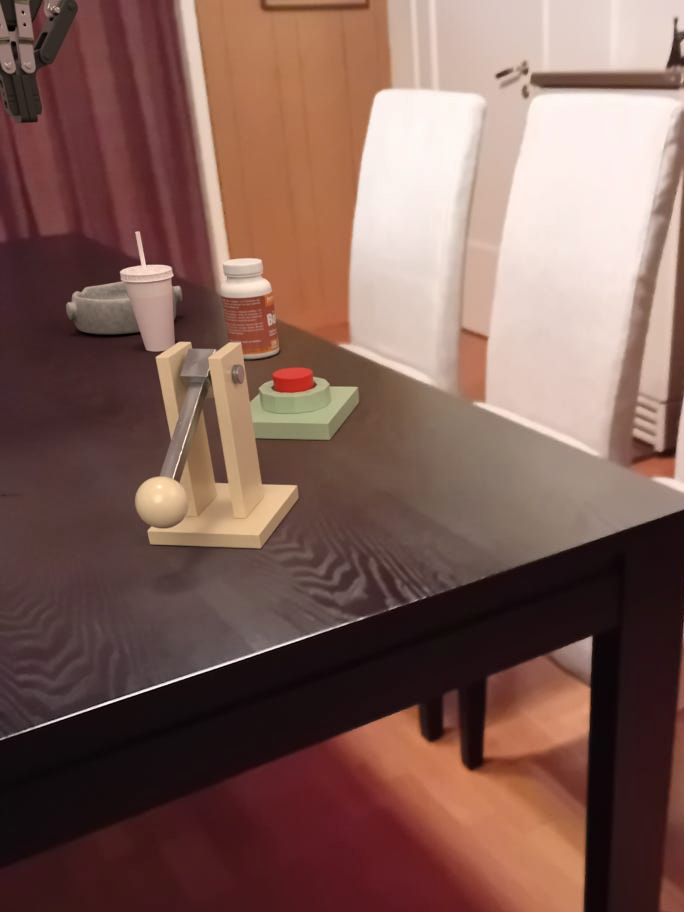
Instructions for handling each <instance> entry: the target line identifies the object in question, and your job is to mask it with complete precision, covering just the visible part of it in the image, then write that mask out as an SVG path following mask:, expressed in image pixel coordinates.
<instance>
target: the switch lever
mask: <svg viewBox="0 0 684 912" xmlns="http://www.w3.org/2000/svg"><path fill="white" fill-rule="evenodd" d="M217 351H218V350H217V348H192V349H188V352H187V355H186V358H185V361H184V364H183V367H182V370H181V373H180V378H181V380H182V382H183V384H184V386H185V388H186V390H187V393H186V396H185V399H184V402H183V405H182V408H181V412H180V415H179V418H178V421H177V424H176V427H175V430H174V433H173V436H172V439H171V438H170V443H169V446H168V449H167V452H166V455H165V457H164V461H163V464H162V467H161V471H160V473H159V475H158V476H153V477H150V478H148V479H147V480H145V481H144V482H142V484H140V486H139V487H138V489H136V493H135V496H134V507H135V510H136V513H137V514H138V516H139V518H140V519H141V520H142V522H144V523H145V524H147V525H148V526H150V527H155V528H161V529H166V528H171V527H174V526H176V525H177V524H179V523H180V522H181V521H182V520H183V519H184V518H185V516H186V515H187V512H188V509H189V498H188V495H187V492H186V490H185V489H184V488H183V486H182V485H181V484H180V479H181V476H182V473H183V470H184V467H185V463H186V460H187V457H188V454H189V451H190V447H191V444H192V441H193V438H194V434H195V431H196V428H197V425H198V422H199V418H200V415H201V412H202V409H203V410H204V405H205V402H206V399H215V398H214V392H213V386H212V380H211V374H210V367H209V361H208V358H209V357H210V356H211V355H213V354H214V353H215V352H217Z"/></svg>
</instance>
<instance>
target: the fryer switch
mask: <svg viewBox="0 0 684 912" xmlns="http://www.w3.org/2000/svg"><path fill="white" fill-rule="evenodd" d="M188 349H193V346H192V342H191V341H178V342H177V343H175V345H174V346H172V347H171V348H169V349H167V350H165V351H162V352H161V353H160V354H158V355H157V356H155V362H156V368H157V374H158V378H159V383H160V388H161V394H162V399H163V406H164V409H165V414H166V421H167V425H168V430H169V435H170V440H171V439H172V436H173V433H174V430H175V427H176V424H177V421H178V418H179V415H180V412H181V408H182V405H183V402H184V399H185V396H186V393H187V390H186V388H185V386H184V384H183V382H182V380H181V378H180V373H181V370H182V367H183V364H184V361H185V358H186V355H187V352H188ZM208 361H209V367H210V374H211V380H212V386H213V392H214V398H213V399H214V403H215V404H214V405H215V409H216V416H217V422H218V428H219V434H220V441H221V447H222V453H223V459H224V465H225V471H226V477H227V482H216V480H215V475H214V469H213V461H212V456H211V450H210V445H209V439H208V434H207V433H208V432H207V427H206V422H205V416H204V408H203V409H202V412H201V415H200V418H199V422H198V425H197V428H196V431H195V434H194V438H193V441H192V444H191V447H190V451H189V454H188V457H187V460H186V463H185V467H184V470H183V473H182V476H181V479H180V484H181V485H182V486H183V488H184V489H185V490H186V492H187V495H188V498H189V509H188V512H187V515H186V516H185V518H184V519H183V520H182V521H181V522H180V523H179V524H177V525H176V526H174V527H171V528H166V529H161V528H155V527H152V526H150V527H149V528H148V529H147V530H146V532H147V536H148V540H149V541H148V542H149V545H155V546H156V545H158V546H159V545H160V546H180V547H181V546H182V547H184V546H185V547H208V548H211V547H212V548H233V549H236V548H237V549H262V547H264V545H265V544H266V543H267V541H268V540H269V538H270V537H271V536H272V535H273V533H274V532H275V531H276V529H277V528H278V527H279V525H280V524H281V523H282V521H283V520H284V519H285V517H286V516H287V515H288V513H289V512H290V511H291V509H292V508H293V507H294V505H295V504H296V503H297V501H298V500H299V498H300V497H299V488H298V485H297V484H295V485H294V484H265V483H263V484H262V477H261V470H260V461H259V456H258V449H257V442H256V438H255V434H254V427H253V420H252V414H251V407H250V402H251V400H250V393H249V386H248V380H247V379H248V378H247V372H246V365H245V359H243V352H242V345H241V343H240V342H229V343H228V342H227V343H226V344H225V345H224V346H222V347H220V348H219V349H218V350H217V352H215V353H214V354H213V355H211V356H210V357H209V358H208Z"/></svg>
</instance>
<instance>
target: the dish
mask: <svg viewBox="0 0 684 912" xmlns="http://www.w3.org/2000/svg"><path fill="white" fill-rule="evenodd" d="M172 299H173V317H174V320H175V319H176V318H177V317H176V316H177V304H178V303H179V304H180V303H182V302H183V291H182V287H181V286H180V285H175V286H173V285H172ZM65 310H66V315H67V318H68V319H69V320H70V321H73V322H74V326H75V328H76V329H77V330H78V331H80V332H81V333H82V332H83V333H86V334H92V335H104V336H105V335H107V336H108V335H110V336H111V335H127V334H128V335H129V334H137V333H140V330H139V327H138V324H137V320H136V317H135V314H134V311H133V308H132V305H131V302H130V299H129V296H128V293H127V289H126V286H125V283H124V281H122V280H121V281H116V282H111V283H104V284H99V285H91V286H86V287H84V288H83V289H82V291H78V290H76V291H74V292H73V293H72V295H71V301H68V302H67V303H66V305H65Z"/></svg>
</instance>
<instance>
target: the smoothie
mask: <svg viewBox="0 0 684 912" xmlns="http://www.w3.org/2000/svg"><path fill="white" fill-rule="evenodd" d="M134 233H135V239H136V245H137V249H138V254H139V260H140V265H135V266H130V267H126V268H123V269H121V270H120V271H119V275H120V281H121V282H122V281H124V283H125V286H126V289H127V293H128V296H129V299H130V302H131V305H132V308H133V311H134V314H135V317H136V320H137V324H138V327H139V330H140V332H139V333H140V336H141V339H142V342H143V345H144V349H145V351H148V352H164V351H166V350H167V349H169V348H171V347H172V346H174V345H175V344H176V341H175V340H176V339H175V338H176V337H175V336H176V335H175V319H174V317H173V299H172V286H173V285H172V278H173V277H174V272H173V267H172V266H170V265H166V264H146V263H147V262H146V259H145V253H144V247H143V242H142V241H143V240H142V236H141V232H140V231H139V230H138V231H135V232H134Z"/></svg>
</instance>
